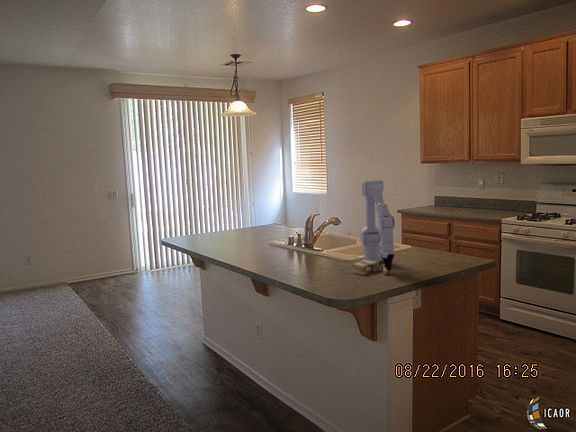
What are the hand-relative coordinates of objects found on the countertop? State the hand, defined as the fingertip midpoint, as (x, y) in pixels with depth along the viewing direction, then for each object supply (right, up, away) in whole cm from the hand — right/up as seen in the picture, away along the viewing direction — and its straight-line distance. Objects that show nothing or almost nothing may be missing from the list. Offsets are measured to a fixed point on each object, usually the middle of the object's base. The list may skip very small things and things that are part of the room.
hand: (388, 269), depth 228 cm
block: (-10, -1, +5) cm, 11 cm away
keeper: (-1, -1, +1) cm, 2 cm away
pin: (-11, -1, +6) cm, 13 cm away
